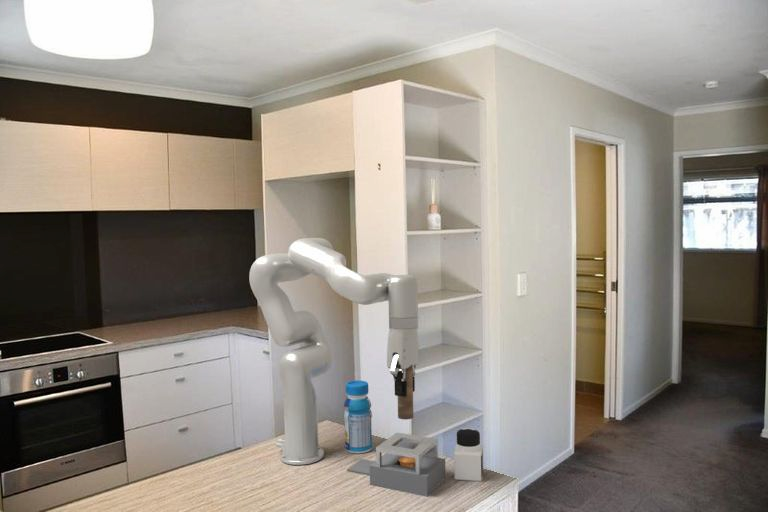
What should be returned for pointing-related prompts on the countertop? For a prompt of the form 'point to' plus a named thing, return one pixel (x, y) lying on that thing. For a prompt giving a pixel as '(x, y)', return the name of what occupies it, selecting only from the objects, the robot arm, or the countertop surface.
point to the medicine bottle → (468, 456)
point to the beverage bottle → (357, 418)
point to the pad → (361, 467)
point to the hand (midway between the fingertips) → (404, 392)
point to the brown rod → (406, 402)
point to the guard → (408, 448)
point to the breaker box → (408, 475)
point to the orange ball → (407, 461)
